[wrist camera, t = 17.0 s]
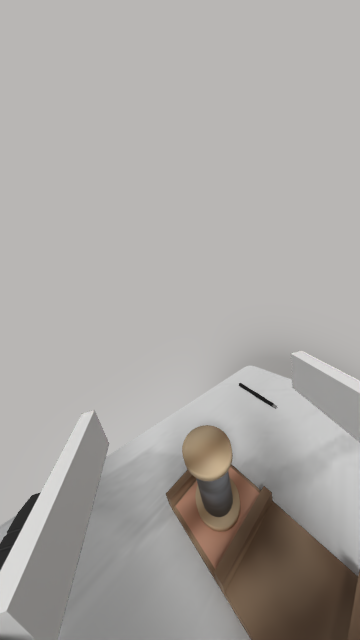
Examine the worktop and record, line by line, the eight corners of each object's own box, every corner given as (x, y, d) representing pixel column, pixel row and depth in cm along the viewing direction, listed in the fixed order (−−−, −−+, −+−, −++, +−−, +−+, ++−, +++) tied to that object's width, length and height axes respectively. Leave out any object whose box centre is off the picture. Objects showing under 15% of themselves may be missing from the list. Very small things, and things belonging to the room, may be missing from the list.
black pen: (277, 408, 44) (277, 404, 44) (275, 410, 44) (275, 407, 43) (241, 384, 55) (240, 382, 55) (238, 386, 54) (238, 383, 54)
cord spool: (188, 501, 29) (172, 448, 26) (215, 467, 33) (204, 418, 30) (222, 547, 24) (208, 488, 20) (249, 500, 28) (241, 444, 24)
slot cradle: (169, 505, 30) (165, 493, 29) (215, 452, 37) (212, 442, 36) (347, 799, 12) (350, 791, 12) (373, 596, 19) (376, 581, 18)
